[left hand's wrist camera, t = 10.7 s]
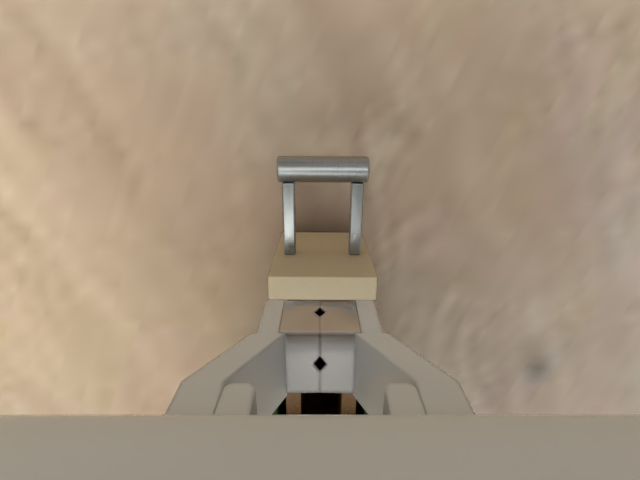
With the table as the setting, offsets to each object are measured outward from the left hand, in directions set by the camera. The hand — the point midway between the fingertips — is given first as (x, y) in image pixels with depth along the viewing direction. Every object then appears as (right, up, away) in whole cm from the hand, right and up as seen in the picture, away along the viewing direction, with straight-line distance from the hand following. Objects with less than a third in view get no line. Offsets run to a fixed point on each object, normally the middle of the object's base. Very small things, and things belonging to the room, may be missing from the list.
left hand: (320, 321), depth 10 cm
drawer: (0, -3, +14) cm, 15 cm away
